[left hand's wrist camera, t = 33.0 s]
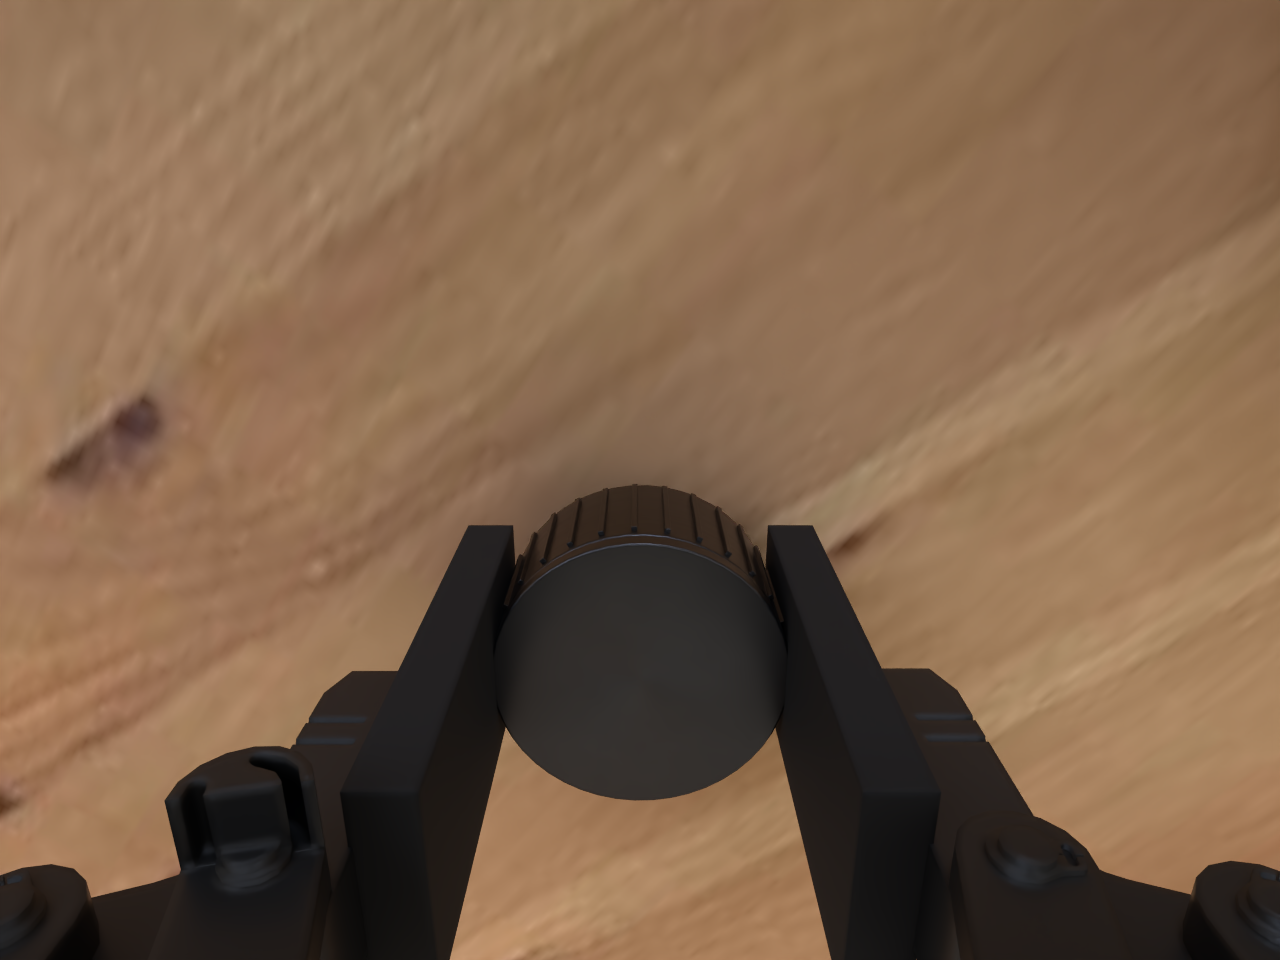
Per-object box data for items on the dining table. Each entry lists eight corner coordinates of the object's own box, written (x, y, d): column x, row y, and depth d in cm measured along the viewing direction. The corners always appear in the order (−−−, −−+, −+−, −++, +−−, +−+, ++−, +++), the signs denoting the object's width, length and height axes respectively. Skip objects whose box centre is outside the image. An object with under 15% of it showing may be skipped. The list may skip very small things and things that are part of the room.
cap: (527, 459, 14) (506, 515, 12) (799, 505, 14) (828, 567, 12) (496, 692, 15) (471, 781, 13) (740, 729, 16) (756, 822, 13)
